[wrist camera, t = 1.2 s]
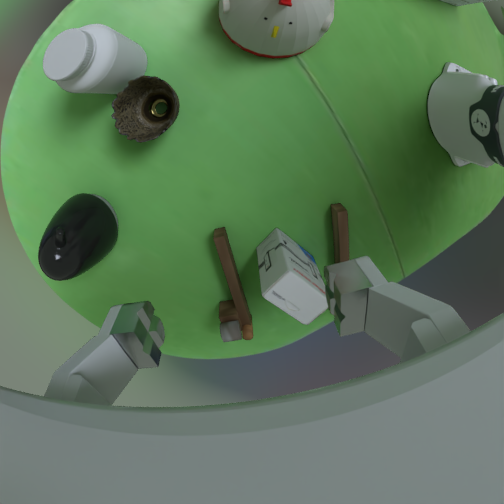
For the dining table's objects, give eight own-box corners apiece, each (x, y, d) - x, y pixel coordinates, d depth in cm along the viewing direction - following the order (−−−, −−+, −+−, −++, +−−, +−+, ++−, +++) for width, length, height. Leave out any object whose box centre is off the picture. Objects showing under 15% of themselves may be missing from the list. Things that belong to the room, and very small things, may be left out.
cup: (168, 71, 28) (150, 62, 21) (200, 111, 31) (190, 111, 24) (125, 106, 30) (99, 108, 23) (156, 145, 33) (136, 155, 26)
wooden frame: (340, 202, 39) (360, 222, 32) (344, 298, 48) (357, 325, 42) (195, 233, 40) (188, 258, 34) (228, 323, 49) (227, 353, 43)
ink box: (314, 257, 43) (336, 304, 33) (292, 277, 45) (308, 327, 35) (276, 225, 40) (290, 270, 30) (254, 248, 42) (260, 297, 31)
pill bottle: (148, 90, 29) (95, 83, 16) (96, 98, 28) (29, 103, 15) (151, 37, 25) (104, 4, 12) (99, 48, 24) (36, 31, 11)
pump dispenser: (137, 205, 37) (92, 259, 24) (113, 255, 41) (74, 317, 28) (84, 172, 33) (23, 211, 20) (66, 225, 37) (15, 276, 24)
